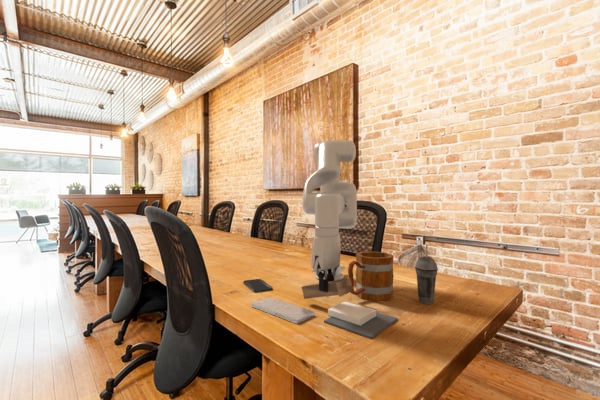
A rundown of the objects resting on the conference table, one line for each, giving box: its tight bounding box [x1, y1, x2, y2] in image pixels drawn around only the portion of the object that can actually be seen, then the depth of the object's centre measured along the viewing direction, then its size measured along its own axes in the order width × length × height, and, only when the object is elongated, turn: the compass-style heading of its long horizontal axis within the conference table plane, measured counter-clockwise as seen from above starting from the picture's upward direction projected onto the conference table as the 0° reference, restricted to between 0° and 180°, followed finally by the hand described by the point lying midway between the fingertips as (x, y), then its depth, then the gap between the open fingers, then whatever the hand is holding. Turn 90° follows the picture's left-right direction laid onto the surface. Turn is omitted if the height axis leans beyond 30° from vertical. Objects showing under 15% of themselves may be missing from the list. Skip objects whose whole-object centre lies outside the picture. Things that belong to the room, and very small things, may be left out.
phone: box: [243, 278, 274, 294], centre depth 120 cm, size 8×1×15 cm
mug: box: [347, 251, 395, 303], centre depth 107 cm, size 20×14×15 cm
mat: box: [323, 311, 399, 340], centre depth 87 cm, size 16×15×1 cm
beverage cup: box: [414, 243, 439, 305], centre depth 103 cm, size 7×7×20 cm
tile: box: [327, 301, 377, 326], centre depth 89 cm, size 9×2×11 cm
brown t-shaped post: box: [301, 277, 353, 300], centre depth 96 cm, size 6×17×4 cm, turn 48°
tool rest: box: [251, 296, 316, 325], centre depth 94 cm, size 8×20×1 cm, turn 48°
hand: (326, 289), depth 95 cm, fingers closed on brown t-shaped post, 2 cm apart
